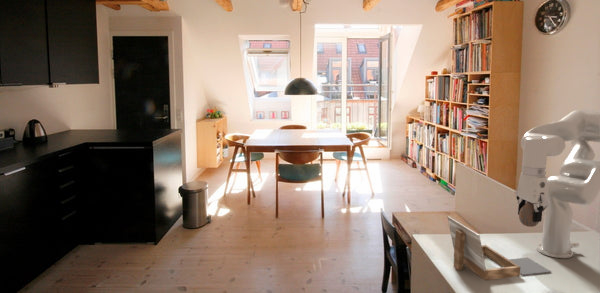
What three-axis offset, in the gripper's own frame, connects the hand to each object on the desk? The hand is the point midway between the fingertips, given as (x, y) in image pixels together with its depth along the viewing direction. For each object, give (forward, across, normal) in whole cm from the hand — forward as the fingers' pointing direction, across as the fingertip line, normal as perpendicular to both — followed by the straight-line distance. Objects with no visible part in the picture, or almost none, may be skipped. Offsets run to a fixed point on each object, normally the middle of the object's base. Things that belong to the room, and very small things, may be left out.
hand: (529, 217), depth 155 cm
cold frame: (+19, +4, +17) cm, 26 cm away
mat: (+19, 0, 0) cm, 19 cm away
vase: (+3, 0, 0) cm, 3 cm away
